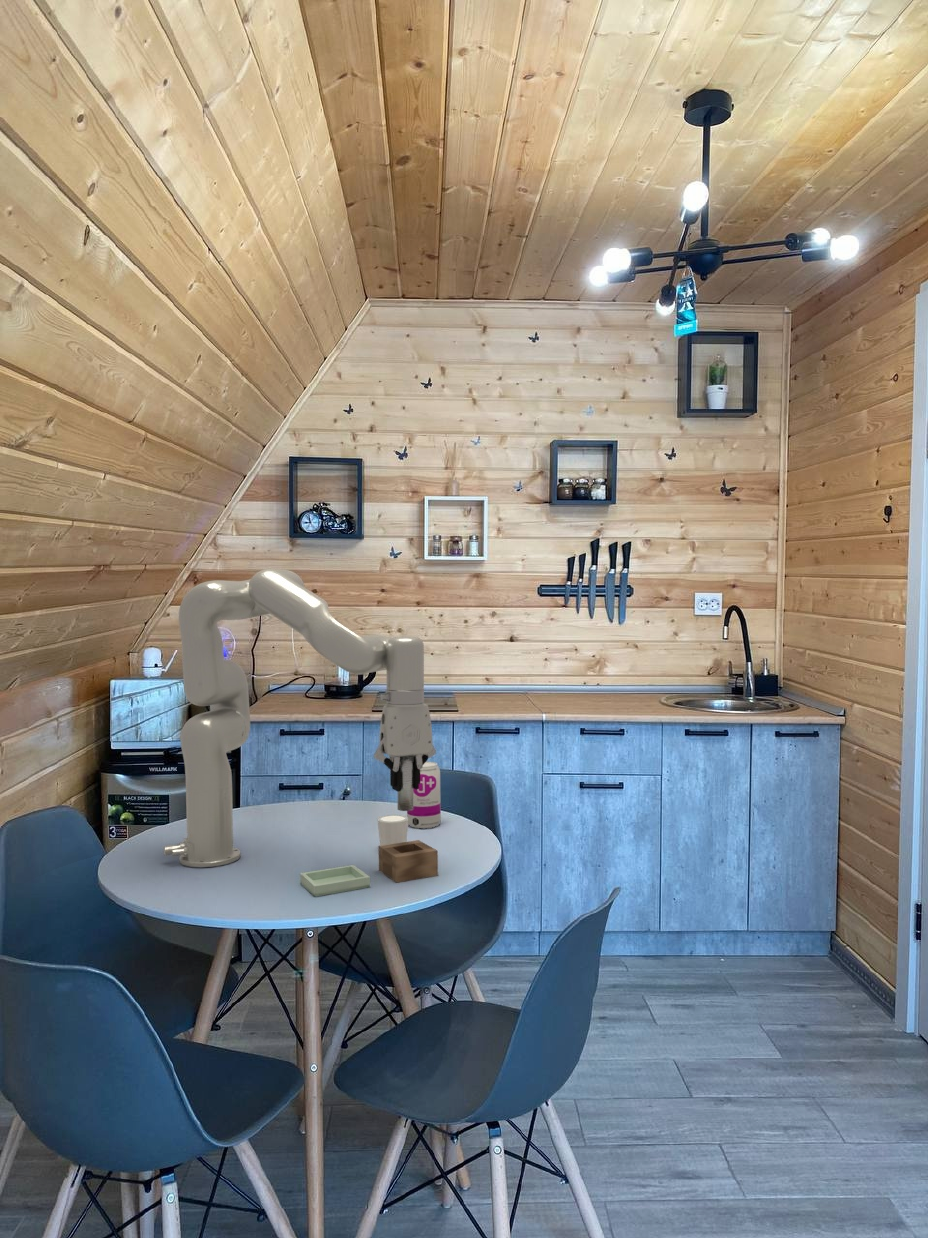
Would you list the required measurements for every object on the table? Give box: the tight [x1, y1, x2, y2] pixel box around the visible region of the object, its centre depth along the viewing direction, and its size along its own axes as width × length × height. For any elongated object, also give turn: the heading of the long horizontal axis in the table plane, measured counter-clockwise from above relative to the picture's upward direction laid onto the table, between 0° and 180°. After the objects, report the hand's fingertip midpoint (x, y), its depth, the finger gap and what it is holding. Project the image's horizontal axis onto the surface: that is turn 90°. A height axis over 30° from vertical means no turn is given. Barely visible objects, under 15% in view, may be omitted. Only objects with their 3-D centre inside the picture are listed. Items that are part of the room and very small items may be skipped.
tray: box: [299, 864, 371, 898], centre depth 170 cm, size 11×9×2 cm
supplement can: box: [406, 761, 442, 829], centre depth 215 cm, size 8×8×15 cm
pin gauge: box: [396, 755, 413, 812], centre depth 177 cm, size 3×3×12 cm
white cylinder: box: [376, 814, 409, 846], centre depth 194 cm, size 7×7×7 cm
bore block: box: [378, 839, 439, 884], centre depth 177 cm, size 9×9×5 cm
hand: (405, 788), depth 177 cm, fingers closed on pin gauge, 3 cm apart
